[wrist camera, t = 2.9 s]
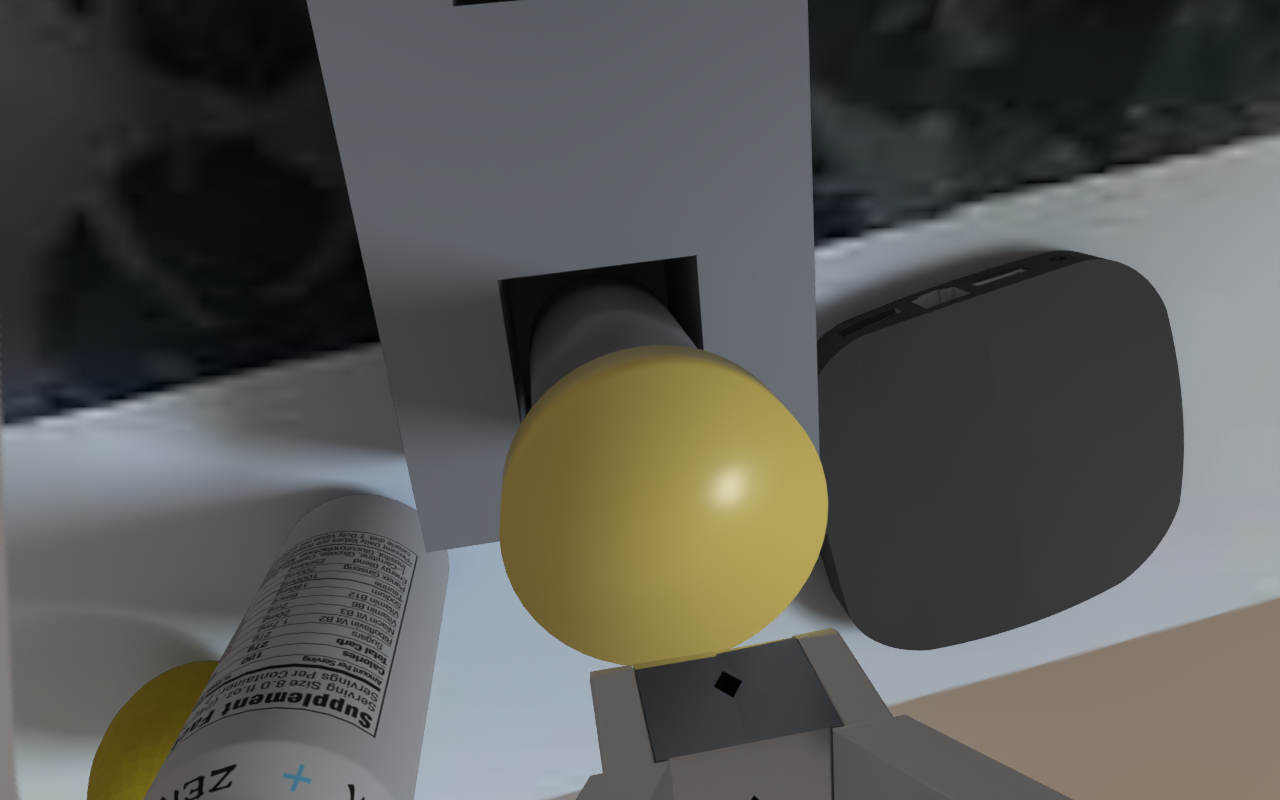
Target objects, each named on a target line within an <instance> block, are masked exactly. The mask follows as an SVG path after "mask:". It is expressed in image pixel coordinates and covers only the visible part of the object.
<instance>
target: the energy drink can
mask: <svg viewBox="0 0 1280 800" xmlns="http://www.w3.org/2000/svg"><path fill="white" fill-rule="evenodd" d="M448 574H449V560H448V553H447V550H440V551H433V552H427V553H426V549H425V544H424V540H423V535H422V530H421V526H420V521H419V517H418V512H417V511H416V510H415V509H413V508H412V507H410V506H408V505H406V504H404V503H401V502H399V501H397V500H393V499H390V498H386V497H383V496H375V495H351V496H345V497H341V498H337V499H333V500H330V501H328V502H326V503H324V504H321V505H319V506H317V507H316V508H314V509H313V510H311V511H310V512H309V513H307V514H306V515H304V516H303V517H302V518H301V520H300V521H299V522H298V523H297V524H296V525H295V526H294V527H293V529H292V531H291V533H290V534H289V536H288V538H287V540H286V542H285V543H284V545H283V547H282V549H281V551H280V552H279V554H278V556H277V558H276V560H275V561H274V563H273V565H272V567H271V569H270V571H269V572H268V574H267V576H266V578H265V580H264V581H263V583H262V585H261V587H260V589H259V591H258V592H257V594H256V596H255V598H254V600H253V601H252V603H251V605H250V607H249V609H248V610H247V612H246V614H245V616H244V618H243V620H242V621H241V623H240V625H239V627H238V629H237V630H236V632H235V634H234V636H233V638H232V640H231V641H230V643H229V645H228V647H227V649H226V650H225V652H224V654H223V656H222V658H221V659H220V661H219V663H218V665H217V667H216V669H215V670H214V672H213V674H212V676H211V678H210V679H209V681H208V683H207V685H206V687H205V689H204V690H203V692H202V694H201V696H200V698H199V699H198V701H197V703H196V705H195V707H194V708H193V710H192V712H191V714H190V716H189V718H188V719H187V721H186V723H185V725H184V727H183V728H182V730H181V732H180V734H179V736H178V738H177V739H176V741H175V743H174V745H173V747H172V748H171V750H170V752H169V754H168V756H167V757H166V759H165V761H164V763H163V765H162V767H161V768H160V770H159V772H158V774H157V776H156V777H155V779H154V781H153V783H152V785H151V786H150V788H149V790H148V792H147V794H146V796H145V797H144V799H143V800H413V799H414V793H415V786H416V780H417V774H418V767H419V761H420V754H421V748H422V742H423V735H424V729H425V723H426V716H427V710H428V703H429V697H430V691H431V684H432V678H433V672H434V665H435V659H436V652H437V646H438V640H439V633H440V627H441V621H442V614H443V608H444V601H445V595H446V589H447V582H448Z"/></svg>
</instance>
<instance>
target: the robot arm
mask: <svg viewBox="0 0 1280 800" xmlns="http://www.w3.org/2000/svg"><path fill="white" fill-rule="evenodd" d="M590 684H591V691H592V698H593V705H594V712H595V719H596V726H597V734H598V741H599V748H600V755H601V762H602V769H603V773H602V774H597V775H593V776H590V777H589V779H588V781H587V782H586V784H585V786H584V787H583V789H582V790H581V792H580V794H579V795H578V797H577V799H576V800H1072V799H1071V798H1069V797H1067V796H1065V795H1063V794H1061V793H1059V792H1057V791H1055V790H1053V789H1051V788H1049V787H1047V786H1045V785H1043V784H1041V783H1039V782H1037V781H1035V780H1033V779H1031V778H1029V777H1027V776H1025V775H1023V774H1021V773H1019V772H1017V771H1015V770H1013V769H1011V768H1010V767H1008V766H1005V765H1004V764H1001V763H999V762H998V761H996V760H993V759H992V758H990V757H988V756H986V755H984V754H982V753H980V752H978V751H976V750H974V749H972V748H970V747H968V746H966V745H964V744H962V743H960V742H958V741H956V740H954V739H952V738H950V737H948V736H946V735H944V734H942V733H940V732H939V731H937V730H935V729H933V728H931V727H929V726H927V725H925V724H923V723H921V722H919V721H916V720H915V719H913V718H911V717H909V716H907V715H901V716H896V717H893V716H892V714H891V712H890V711H889V709H888V708H887V706H886V705H885V703H884V702H883V700H882V699H881V697H880V696H879V694H878V692H877V691H876V689H875V688H874V686H873V685H872V683H871V682H870V680H869V679H868V677H867V676H866V674H865V672H864V671H863V669H862V668H861V666H860V665H859V663H858V662H857V660H856V659H855V657H854V655H853V654H852V652H851V651H850V649H849V648H848V646H847V645H846V643H845V642H844V640H843V639H842V637H841V635H840V634H839V632H838V631H836V630H834V629H832V628H829V629H824V630H820V631H815V632H810V633H805V634H801V635H796V636H792V638H788V639H782V640H777V641H772V642H766V643H761V644H755V645H750V646H745V647H739V648H734V649H729V650H723V651H718V652H708V653H702V654H696V655H689V656H683V657H677V658H670V659H664V660H658V661H651V662H645V663H639V664H633V668H632V667H631V665H628V666H622V667H616V668H610V669H605V670H599V671H593V672H590Z"/></svg>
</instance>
